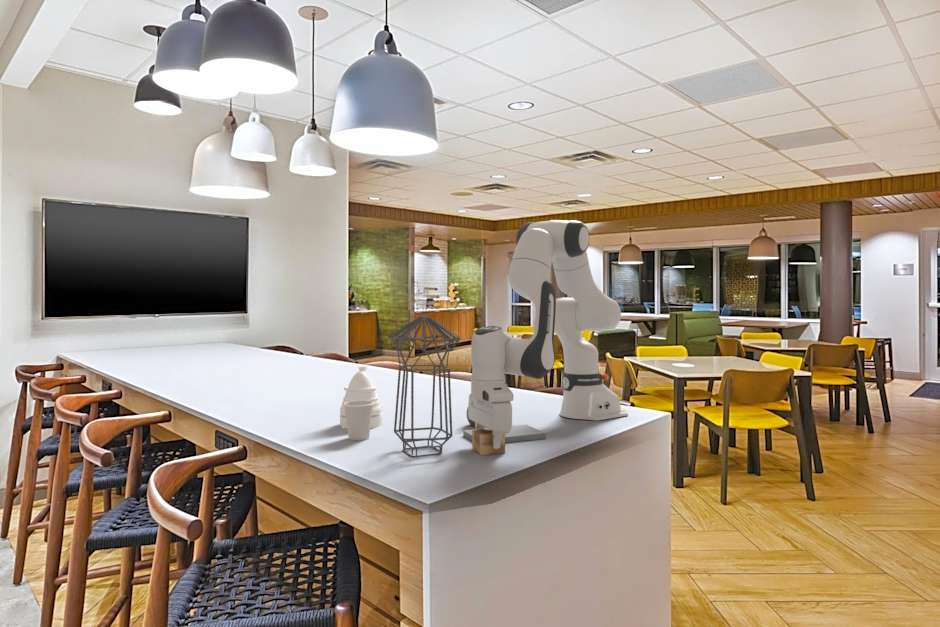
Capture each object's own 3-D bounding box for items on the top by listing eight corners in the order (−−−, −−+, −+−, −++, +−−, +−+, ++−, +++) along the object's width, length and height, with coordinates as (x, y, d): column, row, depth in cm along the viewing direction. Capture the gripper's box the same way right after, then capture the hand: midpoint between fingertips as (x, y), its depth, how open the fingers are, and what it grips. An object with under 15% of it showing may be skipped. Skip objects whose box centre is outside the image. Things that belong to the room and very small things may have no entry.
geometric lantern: (386, 448, 156) (387, 315, 156) (442, 443, 162) (444, 315, 162) (401, 462, 142) (402, 316, 141) (462, 457, 147) (464, 316, 147)
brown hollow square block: (494, 446, 157) (494, 427, 156) (505, 452, 151) (505, 433, 151) (472, 449, 154) (472, 430, 154) (481, 455, 148) (481, 435, 148)
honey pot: (348, 420, 192) (347, 364, 191) (387, 421, 190) (386, 364, 189) (333, 429, 179) (333, 369, 178) (375, 430, 177) (374, 370, 177)
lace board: (526, 429, 177) (526, 399, 176) (545, 438, 165) (545, 406, 165) (463, 435, 169) (463, 404, 169) (479, 445, 158) (479, 411, 158)
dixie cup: (347, 443, 162) (346, 406, 161) (341, 436, 169) (340, 401, 169) (377, 439, 165) (376, 404, 165) (369, 433, 173) (369, 399, 172)
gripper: (462, 385, 160) (462, 436, 161) (492, 396, 141) (493, 454, 142) (483, 383, 163) (483, 433, 163) (516, 395, 144) (516, 451, 144)
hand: (488, 443), depth 152 cm, fingers open, 8 cm apart
